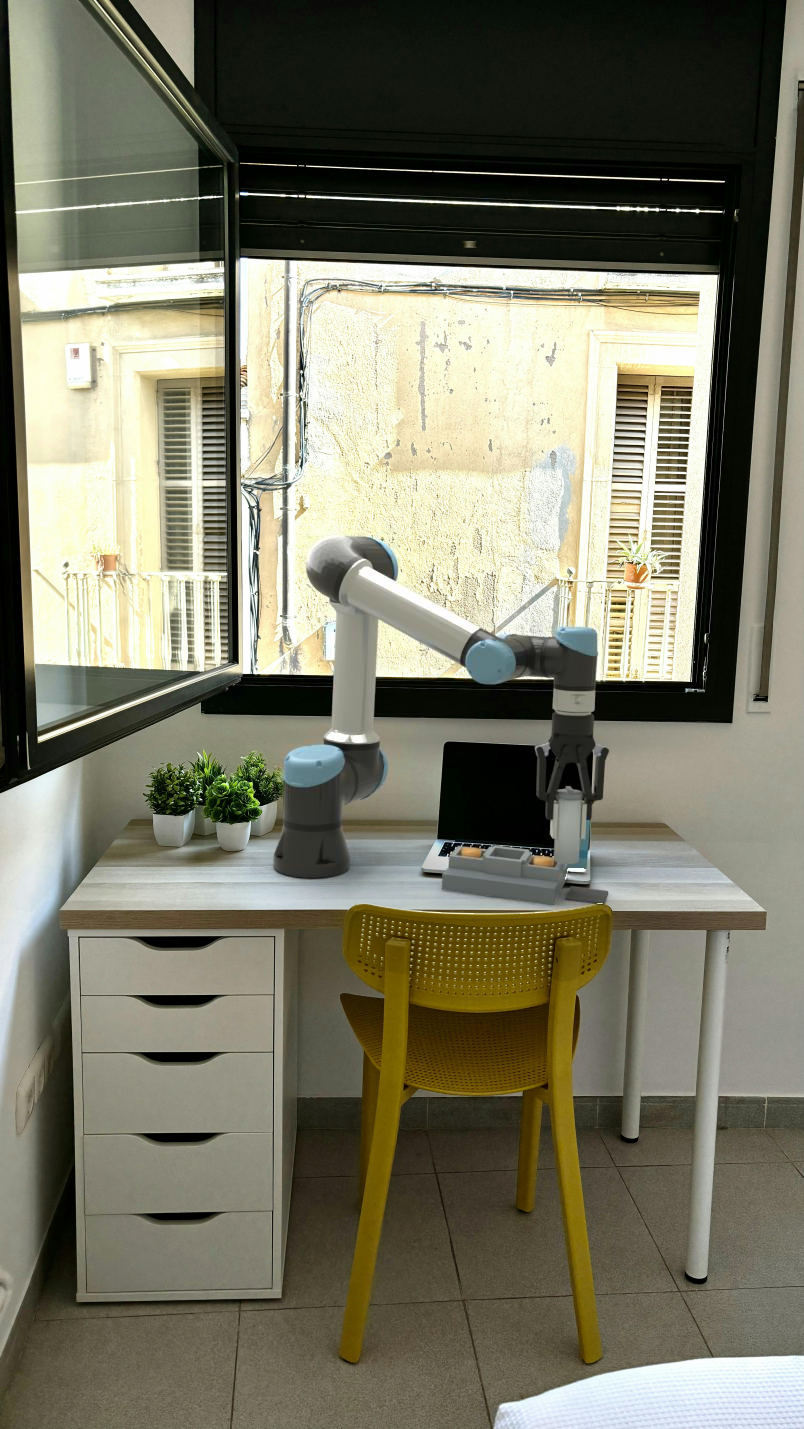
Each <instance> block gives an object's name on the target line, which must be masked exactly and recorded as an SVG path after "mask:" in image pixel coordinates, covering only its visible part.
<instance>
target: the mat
mask: <svg viewBox="0 0 804 1429" xmlns="http://www.w3.org/2000/svg"><path fill="white" fill-rule="evenodd" d="M608 893H609V891H608V890H606V889H605V890H604V889H603V890H602V889H595V888H588V887H580V886H572V885H570V886H569V889H568V891H567V894H566V895H565V897H564V901H572V902H579V903H584V904H585V903H586V904H593V905H598V904H597V903H603V904H604V905H605V902H606V900H607V897H608Z"/></svg>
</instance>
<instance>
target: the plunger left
mask: <svg viewBox="0 0 804 1429" xmlns="http://www.w3.org/2000/svg"><path fill="white" fill-rule="evenodd" d="M466 847H467V848H463V849H462V852H461V856H466V857H474V858H481V850H480V849H481V848H478V847H468V846H466Z"/></svg>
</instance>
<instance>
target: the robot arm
mask: <svg viewBox="0 0 804 1429" xmlns="http://www.w3.org/2000/svg"><path fill="white" fill-rule="evenodd" d="M305 572H306V575H307V578H308V580H309V582H310V584H311V585H312V587H313V589H314V588H315V590H316V591H317V592H319V593H320V594H322V595H323V596H324V597H326V598H329V600H328V601H329V605H330V606H331V607H332V608H333V609H334V611H335V613H336V616H335V636H334V638H335V639H334V660H333V661H334V662H333V668H334V669H333V686H332V688H333V689H332V704H331V705H332V706H331V708H332V710H331V728H330V729H329V730H328V731H327V732H326V733H325V734H324V735H323V744H311V745H305V746H300V747H296V748H294V749H293V750H291V751H290V752H288V754H286V755H285V757H284V762H283V770H282V779H283V784H282V786H283V791H282V792H283V793H282V794H283V795H282V800H283V801H282V803H283V804H282V830H281V833H280V835H279V839H278V841H277V844H276V847H275V849H274V850H275V851H274V853H273V863H272V865H273V869H274V870H275V871H277V872H278V873H281V874H283V875H286V876H290V877H296V878H297V877H298V878H306V879H309V878H310V879H311V878H312V879H313V878H314V879H316V878H320V879H321V878H329V877H333V876H338V875H341V874H343V873H346V872H347V871H348V870H349V869H350V867H351V854H350V851H349V848H348V843H347V841H346V837H345V833H344V830H343V811H344V810H343V808H344V806H347V805H349V804H352V803H355V802H358V801H361V800H365V799H367V798H369V797H370V796H371V795H373V794H375V793H376V792H378V791H379V790H380V789H381V788H382V786H383V785H384V783H385V782H386V779H387V777H388V772H389V764H388V758H387V756H386V754H385V753H384V752H383V749H382V748H381V747H380V746H381V737H380V736H379V735H378V734H377V733H376V732H375V731H374V719H375V718H374V716H375V701H376V700H375V699H376V698H375V695H376V680H377V679H376V678H377V677H376V676H377V674H376V672H377V659H378V658H377V656H378V653H377V652H378V637H379V636H378V635H379V633H378V632H379V621H381V622H383V623H385V624H386V625H388V626H390V627H392V628H393V629H396V630H397V631H399V632H401V633H402V634H405V636H408V637H410V638H411V639H413V640H415V641H417V642H419V643H420V644H423V645H424V646H426V647H427V648H429V649H432V650H433V651H434V652H437V653H438V654H439V655H442V656H444V657H445V658H447V659H449V660H451V661H452V662H454V663H456V664H458V665H460V666H462V667H463V668H465V669H466V671H467V672H468V675H469V676H470V677H471V678H472V679H473V680H474V681H475V682H476V683H479V684H483V685H497V684H502V683H504V682H507V681H511V680H516V679H520V678H523V677H530V678H531V677H533V678H534V677H535V678H546V679H549V678H550V679H551V678H552V679H553V692H552V694H553V697H552V709H553V710H554V712H553V713H552V716H551V735H550V737H549V739H548V741H547V742H546V743H544V744H535V745H534V752H535V755H536V758H537V759H536V760H537V761H536V788H535V789H536V792H535V793H536V794H535V795H536V796H537V798H538V799H539V800H540V801H544V802H545V818H546V820H547V821H548V820H549V821H550V826H549V827H550V830H549V835H550V836H551V838H552V839H554V840H555V839H557V824H558V803H557V802H556V801H557V800H556V798H557V797H556V794H557V790H559V787H560V783H561V779H562V777H563V776H562V775H563V772H564V769H565V767H566V764H572V763H573V764H576V766H577V769H578V775H579V779H580V786H581V791H582V792H583V800H582V808H581V828H580V838H581V839H585V832H586V820H590V821H591V820H592V816H593V814H592V813H593V804H594V803H596V802H597V801H602V800H603V799H604V789H605V788H604V787H605V786H604V785H605V769H606V760H607V758H608V755H609V753H610V749H609V748H608V747H607V746H606V745H603V744H602V745H601V744H598V743H596V741H595V738H594V729H595V728H594V726H595V715H594V714H593V713H592V712H594V711H595V707H596V706H595V702H596V699H595V698H596V684H597V683H596V682H597V668H598V656H599V652H598V633H597V631H596V630H595V629H594V628H593V627H590V626H588V627H586V626H559V627H557V628H556V631H555V634H554V636H539V635H525V634H517V633H508V634H499V635H495V634H494V633H492V632H490V631H488V630H486V629H484V628H483V627H481V626H479V625H477V624H476V623H474V622H472V621H470V620H467V619H466V618H464V617H462V616H460V615H459V614H456V613H455V612H453V611H451V610H450V609H448V608H445V607H444V606H442V605H440V604H438V603H437V602H435V601H433V600H431V599H429V598H427V597H425V596H423V595H421V594H420V593H418V592H417V591H414V590H412V589H411V588H408V587H407V586H405V585H403V584H401V583H400V582H397V579H398V575H399V563H398V560H397V557H396V555H395V553H394V551H393V550H392V549H391V547H390V546H389V545H388V544H387V543H386V542H385V541H382V540H381V539H377V538H373V537H372V536H366V535H364V536H363V535H362V536H359V535H357V536H356V535H355V536H353V535H342V534H339V535H338V534H334V535H329V536H325V537H323V538H321V539H319V540H318V541H317V542H315V543H314V545H313V546H311V548H310V550H309V552H308V554H307V557H306V562H305ZM549 750H551V751H552V753H553V754H554V756H555V761H554V765H553V769H552V770H553V771H552V774H551V778H550V780H549V784H548V788H547V789H546V782H547V780H546V779H547V776H546V775H547V756H549ZM593 751H594V753H593V754H594V755H595V763H594V764H595V765H594V780H593V781H594V782H593V792H592V787H591V782H590V776H589V772H588V764H587V758H588V757H589V756H590V755H591V753H592V752H593ZM546 790H547V791H546Z"/></svg>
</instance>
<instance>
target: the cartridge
mask: <svg viewBox="0 0 804 1429" xmlns="http://www.w3.org/2000/svg"><path fill="white" fill-rule="evenodd" d="M555 798H556V800H555V801H556V802H557V803H558V824H557V839H554V847H553V848H554V849H553V850H554V851H553V858H554V861H556V862H559V863H563V864H575V863H578V862H579V848H580V828H581V808H582V801H583V799H584V797H583V792H582V790H579V789H573V788H572V786H571V785H569V786H567V785H565V788H562V789H561V788H560V789H558V790H557V794H556V797H555Z"/></svg>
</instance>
